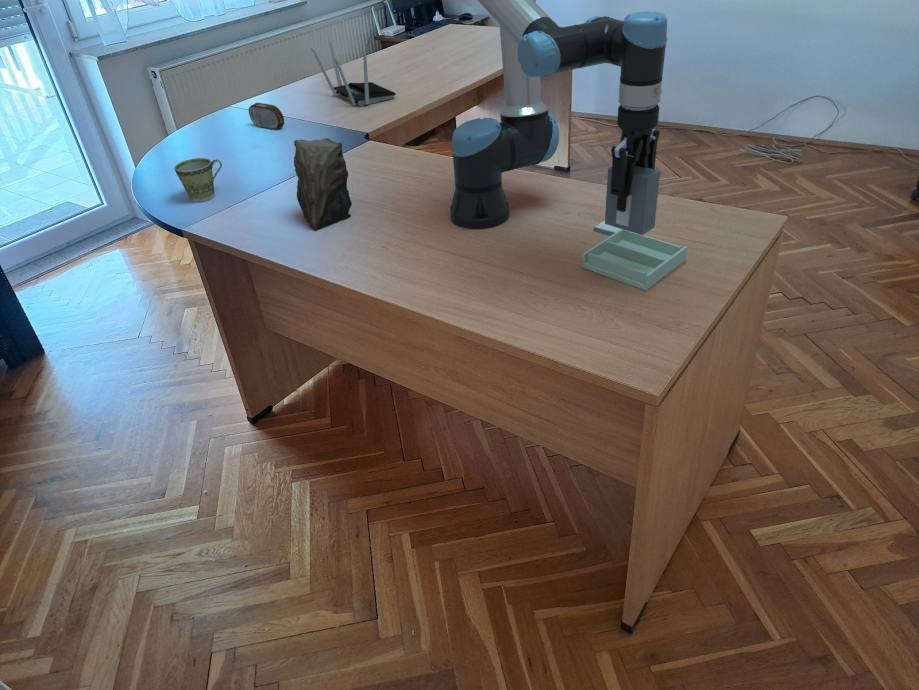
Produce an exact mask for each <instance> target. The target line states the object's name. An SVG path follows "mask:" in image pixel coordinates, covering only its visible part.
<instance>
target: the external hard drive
mask: <svg viewBox="0 0 919 690" xmlns="http://www.w3.org/2000/svg"><path fill="white" fill-rule="evenodd" d="M619 230H620V228H617V227H614V226H610V225H607V224H605V219H604V220H603V221H601V222H599V224H597V225H595V226H594V227H593V231H594V232H596V233H599V234H603V235H606V236H611V235H613V234H614V233H616V232H617V231H619Z"/></svg>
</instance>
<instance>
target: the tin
mask: <svg viewBox="0 0 919 690" xmlns="http://www.w3.org/2000/svg"><path fill="white" fill-rule="evenodd" d="M248 115H249V118H250V120H251V122H252V123H253V124H254V126H257V127H258V128H262V129H268V130H272V131H273V130H274V131H276V130H279V129H281V128H283V127H284V124H285V118H284V114H283V113H282V111H281V110H280V108H278V106H276V105H275V104H270V103H263V102H255V103H253V104H251V105H250V106H249V108H248Z"/></svg>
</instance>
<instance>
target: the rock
mask: <svg viewBox="0 0 919 690" xmlns="http://www.w3.org/2000/svg"><path fill="white" fill-rule="evenodd" d="M293 144H294V147H295V152H294V157H293V166H294V172H295V174H296V176H297V177H296V178H298V179H297V186H296V189H297V190H296V200H297V203H298V204H299V207H300V209H301V212H302V214H303V218H304V219H305V220H306V222H307V223H308V224H309V226H310V228H311V229H313V231H315V232H317V231H319V230H322V229H324V228H327V227H329V226H332V225H334V224H338V223H339V222H342V221H345V220H347V219H348V220H349V218H350V217H351V215H352V214H351V213H350V209H351V207H352V206H353V203H352V200H351V198H350V192H349V189H348V179H349V178H348V177H349V171H348V170H347V164H346V163H347V162H346V159H345V158H344V154H343V143H342V142H336V141H333V140H332V139H330V138H325V137H324V138H321V139H313V140H306V139H295V140H294V141H293Z"/></svg>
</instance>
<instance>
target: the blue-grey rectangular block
mask: <svg viewBox="0 0 919 690" xmlns="http://www.w3.org/2000/svg"><path fill="white" fill-rule="evenodd" d="M611 176H612V166H610V167H608V168H607V177H606V178H607V181H606V198H605V216H604V220H605V224H607V225H610V226H614V227H617V228H620V229H624V230H627V231H630V232H634V233H637V234H640V235H645V234H647V233H648V232H649V231H651V230H653V229H654V228H656V227H655V225H656V215H657V206H658V198H659V197H658V196H659V187H660V176H661V170H659V169H650V168H646V167H645V168H644V167H640V166H636V165H635V168H634V173H633V178H632V183H631V188H630V193H629V195H632V198H631V211H630V223H629V226H628V227H626V226H623V225H620V224H616V214H617V196H616V195H613V194H611Z"/></svg>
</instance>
